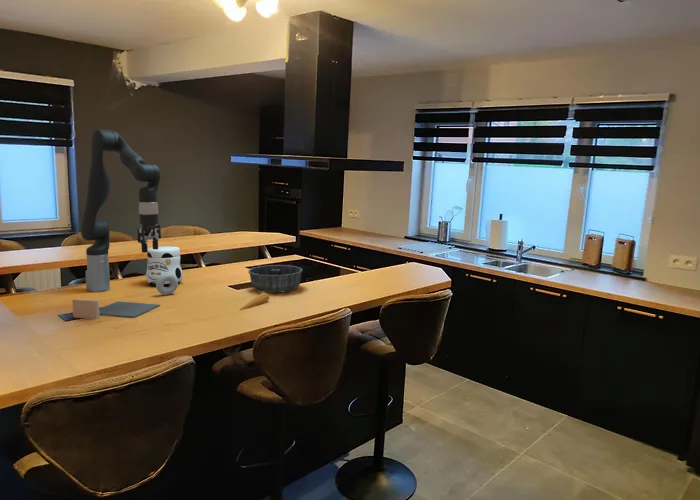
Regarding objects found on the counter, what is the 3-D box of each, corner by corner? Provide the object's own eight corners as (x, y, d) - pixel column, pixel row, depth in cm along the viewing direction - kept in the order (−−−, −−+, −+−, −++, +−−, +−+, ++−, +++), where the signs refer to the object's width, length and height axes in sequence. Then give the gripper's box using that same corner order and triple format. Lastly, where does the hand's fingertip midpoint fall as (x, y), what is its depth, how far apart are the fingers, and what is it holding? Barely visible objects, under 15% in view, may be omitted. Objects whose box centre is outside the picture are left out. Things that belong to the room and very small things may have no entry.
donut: (157, 297, 228) (157, 275, 226) (155, 295, 231) (154, 274, 229) (179, 294, 234) (178, 273, 233) (176, 292, 237) (175, 271, 235)
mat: (88, 314, 200) (88, 312, 200) (117, 302, 217) (117, 301, 217) (134, 317, 196) (134, 316, 196) (159, 306, 214) (159, 304, 214)
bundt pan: (237, 292, 241) (237, 271, 239) (266, 281, 265) (266, 262, 264) (285, 298, 231) (285, 277, 230) (311, 286, 255) (311, 267, 254)
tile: (73, 317, 196) (72, 299, 195) (76, 316, 197) (75, 298, 196) (96, 319, 194) (95, 301, 193) (99, 318, 196) (98, 300, 195)
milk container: (148, 289, 243) (146, 252, 240) (144, 281, 258) (143, 246, 255) (185, 285, 251) (184, 250, 248) (179, 278, 266) (178, 245, 263)
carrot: (265, 302, 227) (261, 292, 227) (272, 299, 225) (268, 290, 225) (235, 317, 210) (231, 307, 210) (243, 314, 208) (239, 304, 208)
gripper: (149, 211, 219) (150, 248, 221) (130, 213, 205) (132, 253, 207) (165, 211, 218) (166, 248, 220) (147, 214, 204) (149, 254, 206)
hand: (150, 250), depth 214 cm, fingers open, 8 cm apart
